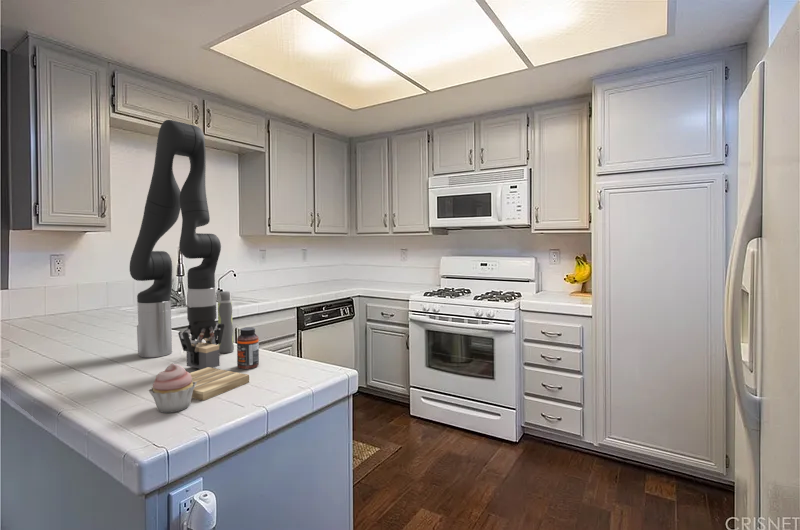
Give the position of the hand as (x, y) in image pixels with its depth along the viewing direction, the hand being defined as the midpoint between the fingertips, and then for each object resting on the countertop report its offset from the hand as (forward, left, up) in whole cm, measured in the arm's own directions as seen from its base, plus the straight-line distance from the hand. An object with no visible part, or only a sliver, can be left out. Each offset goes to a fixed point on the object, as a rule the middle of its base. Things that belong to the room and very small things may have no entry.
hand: (203, 362), depth 122 cm
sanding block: (0, 0, -1) cm, 1 cm away
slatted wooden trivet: (+13, -10, -2) cm, 17 cm away
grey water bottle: (-9, +16, -2) cm, 18 cm away
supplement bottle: (+10, +7, -2) cm, 13 cm away
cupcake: (+18, -23, -2) cm, 29 cm away
